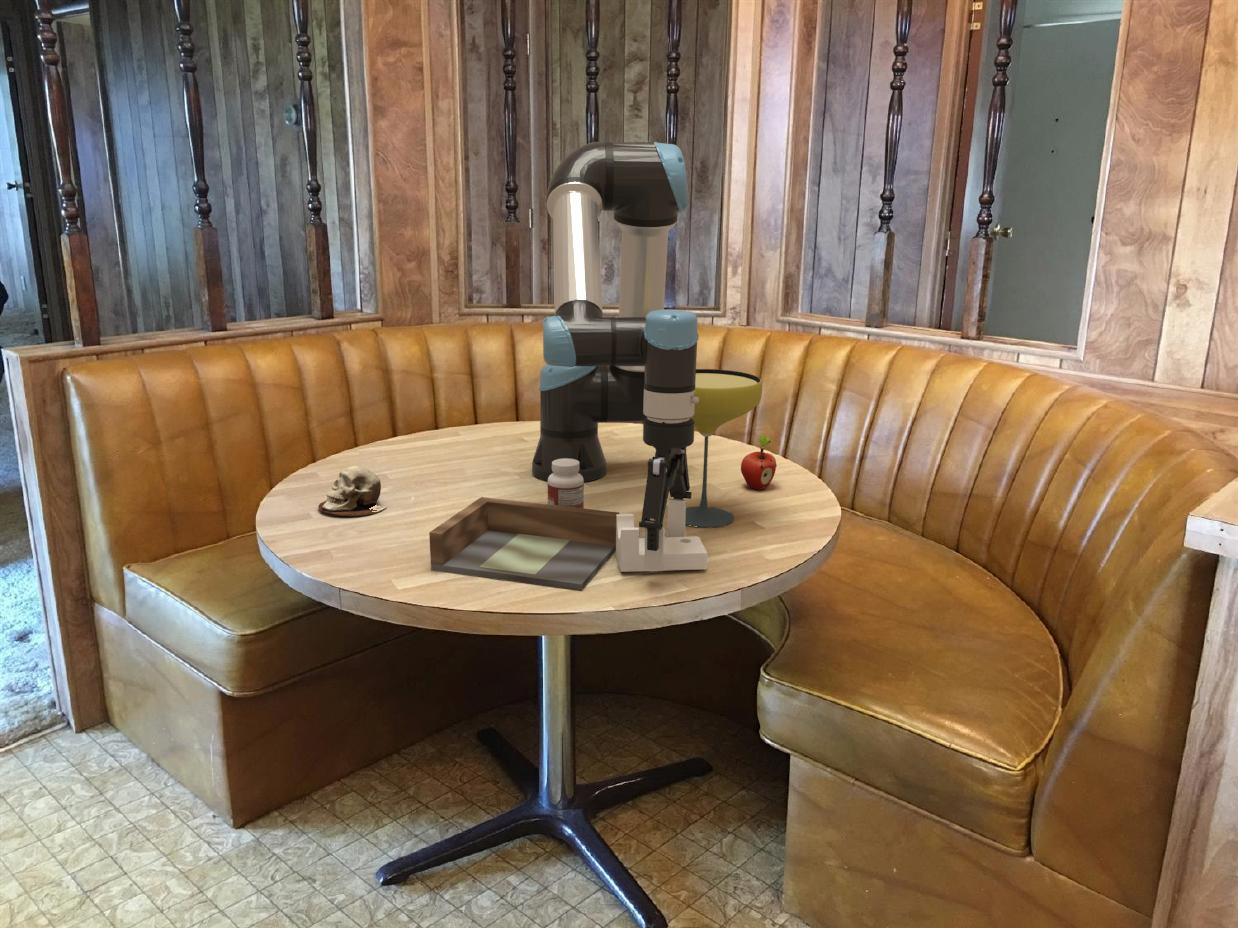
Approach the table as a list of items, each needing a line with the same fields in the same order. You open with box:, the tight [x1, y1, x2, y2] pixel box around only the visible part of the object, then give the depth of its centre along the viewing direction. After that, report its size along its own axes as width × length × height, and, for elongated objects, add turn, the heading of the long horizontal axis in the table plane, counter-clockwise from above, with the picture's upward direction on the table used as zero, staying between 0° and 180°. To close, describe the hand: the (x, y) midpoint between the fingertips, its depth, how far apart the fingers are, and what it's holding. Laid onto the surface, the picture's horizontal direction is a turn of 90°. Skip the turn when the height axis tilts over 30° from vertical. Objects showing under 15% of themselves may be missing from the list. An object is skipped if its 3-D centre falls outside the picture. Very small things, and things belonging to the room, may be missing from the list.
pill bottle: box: [547, 458, 585, 509], centre depth 159 cm, size 6×6×11 cm
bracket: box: [615, 513, 708, 573], centre depth 142 cm, size 13×7×8 cm, turn 97°
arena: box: [428, 496, 620, 592], centre depth 144 cm, size 18×24×6 cm
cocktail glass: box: [685, 368, 763, 528], centre depth 161 cm, size 18×18×25 cm
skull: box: [318, 465, 382, 518], centre depth 167 cm, size 12×10×10 cm
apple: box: [740, 434, 778, 490], centre depth 181 cm, size 8×7×10 cm
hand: (665, 553), depth 142 cm, fingers open, 13 cm apart
